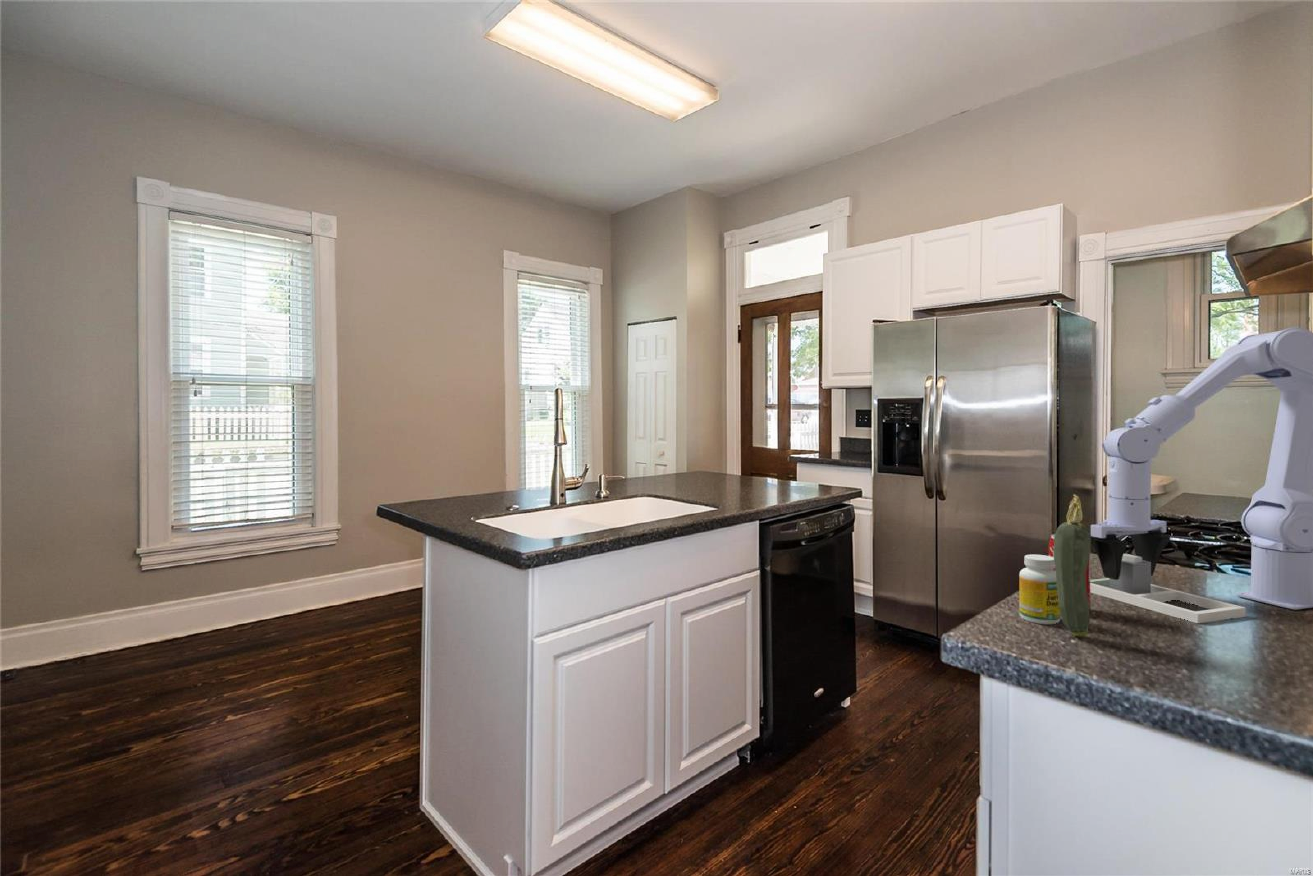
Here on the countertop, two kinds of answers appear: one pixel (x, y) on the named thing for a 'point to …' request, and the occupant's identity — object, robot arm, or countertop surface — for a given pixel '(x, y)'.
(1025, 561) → the supplement bottle
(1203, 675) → the countertop surface
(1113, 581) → the plug
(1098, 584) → the frame
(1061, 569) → the vegetable
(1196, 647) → the countertop surface
